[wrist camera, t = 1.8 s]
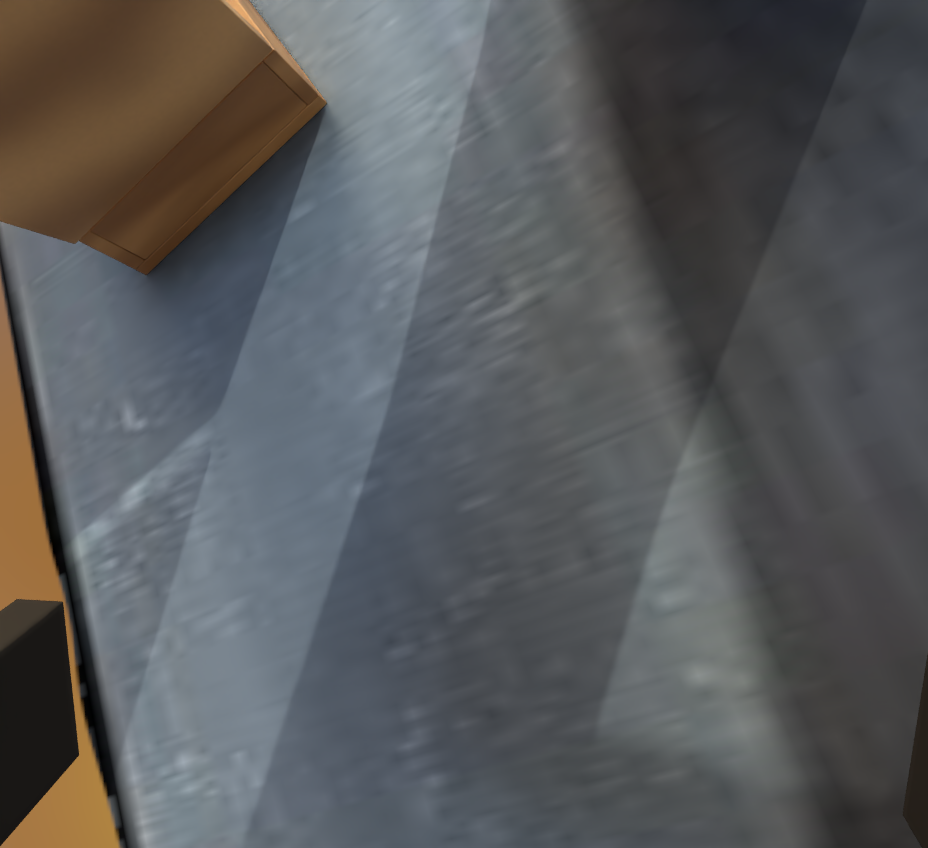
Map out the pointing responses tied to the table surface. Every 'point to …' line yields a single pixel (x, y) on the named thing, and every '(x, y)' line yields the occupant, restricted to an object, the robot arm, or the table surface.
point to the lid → (105, 98)
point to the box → (210, 158)
